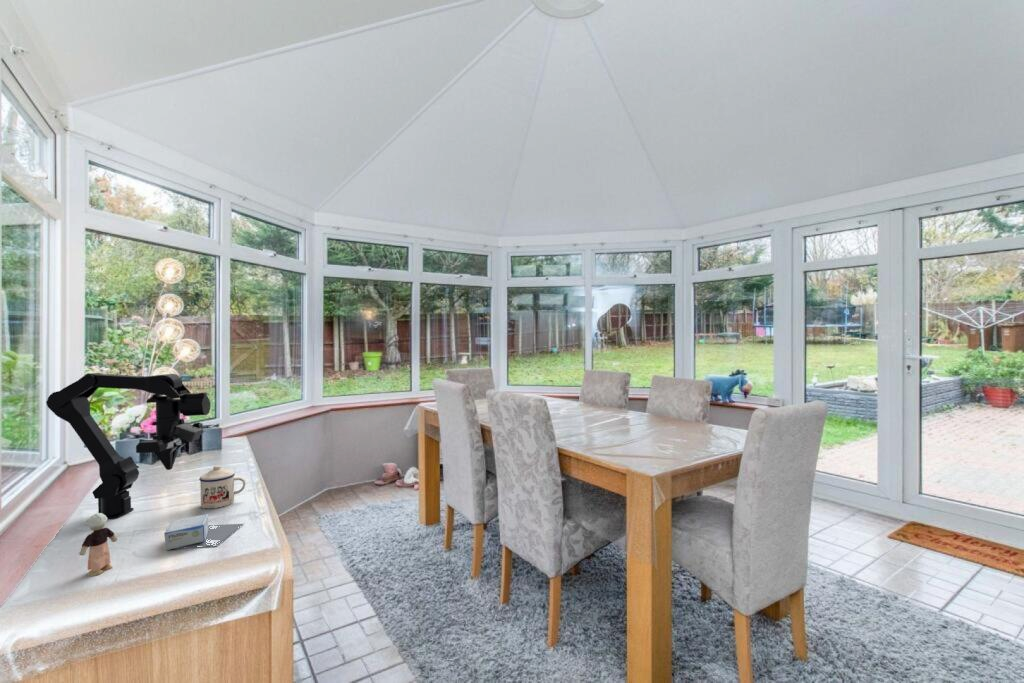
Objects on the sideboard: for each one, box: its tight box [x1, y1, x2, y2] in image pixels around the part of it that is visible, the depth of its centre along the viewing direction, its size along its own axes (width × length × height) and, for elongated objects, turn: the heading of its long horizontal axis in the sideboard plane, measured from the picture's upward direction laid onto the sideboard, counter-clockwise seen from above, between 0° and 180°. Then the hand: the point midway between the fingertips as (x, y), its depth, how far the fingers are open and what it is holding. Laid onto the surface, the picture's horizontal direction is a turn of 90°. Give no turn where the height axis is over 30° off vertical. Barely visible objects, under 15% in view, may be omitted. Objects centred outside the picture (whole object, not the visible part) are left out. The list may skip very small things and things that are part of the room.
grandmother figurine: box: [78, 513, 118, 577], centre depth 100 cm, size 8×4×13 cm, turn 5°
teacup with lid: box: [199, 464, 247, 509], centre depth 142 cm, size 12×9×12 cm
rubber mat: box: [177, 523, 244, 549], centre depth 118 cm, size 9×13×1 cm
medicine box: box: [163, 513, 209, 551], centre depth 115 cm, size 8×4×9 cm
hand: (169, 469), depth 136 cm, fingers closed
